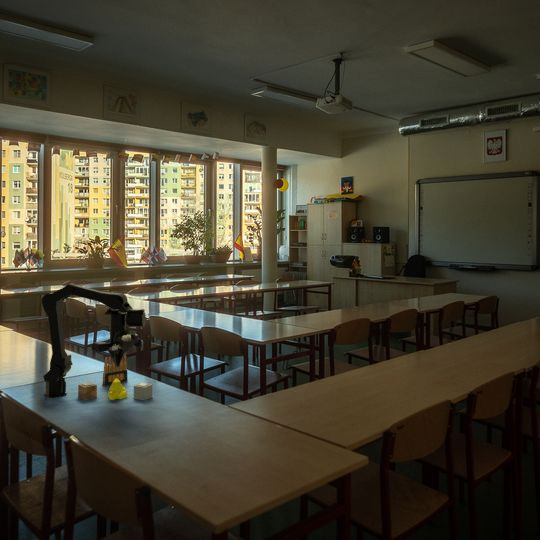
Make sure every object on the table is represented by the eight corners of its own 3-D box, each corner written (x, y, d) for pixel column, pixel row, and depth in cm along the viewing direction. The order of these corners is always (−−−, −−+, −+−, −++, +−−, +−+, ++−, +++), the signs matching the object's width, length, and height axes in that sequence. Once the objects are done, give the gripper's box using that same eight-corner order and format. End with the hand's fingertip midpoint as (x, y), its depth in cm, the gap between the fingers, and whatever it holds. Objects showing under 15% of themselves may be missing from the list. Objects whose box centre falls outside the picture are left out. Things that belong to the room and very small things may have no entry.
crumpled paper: (130, 395, 206) (130, 376, 206) (117, 401, 199) (118, 380, 198) (117, 393, 208) (117, 374, 208) (104, 399, 201) (105, 379, 200)
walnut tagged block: (84, 400, 198) (84, 386, 198) (78, 397, 202) (78, 383, 201) (96, 397, 202) (97, 384, 202) (90, 394, 205) (90, 381, 205)
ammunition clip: (104, 385, 218) (105, 357, 218) (102, 384, 220) (102, 356, 219) (127, 381, 226) (128, 354, 225) (125, 380, 227) (125, 353, 227)
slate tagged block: (144, 400, 200) (144, 386, 200) (133, 398, 202) (133, 385, 202) (152, 397, 205) (152, 383, 205) (141, 395, 207) (141, 382, 207)
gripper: (106, 331, 190) (106, 374, 190) (150, 326, 203) (149, 366, 204) (91, 327, 197) (90, 368, 198) (134, 323, 211) (133, 361, 212)
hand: (117, 366), depth 203 cm, fingers closed
